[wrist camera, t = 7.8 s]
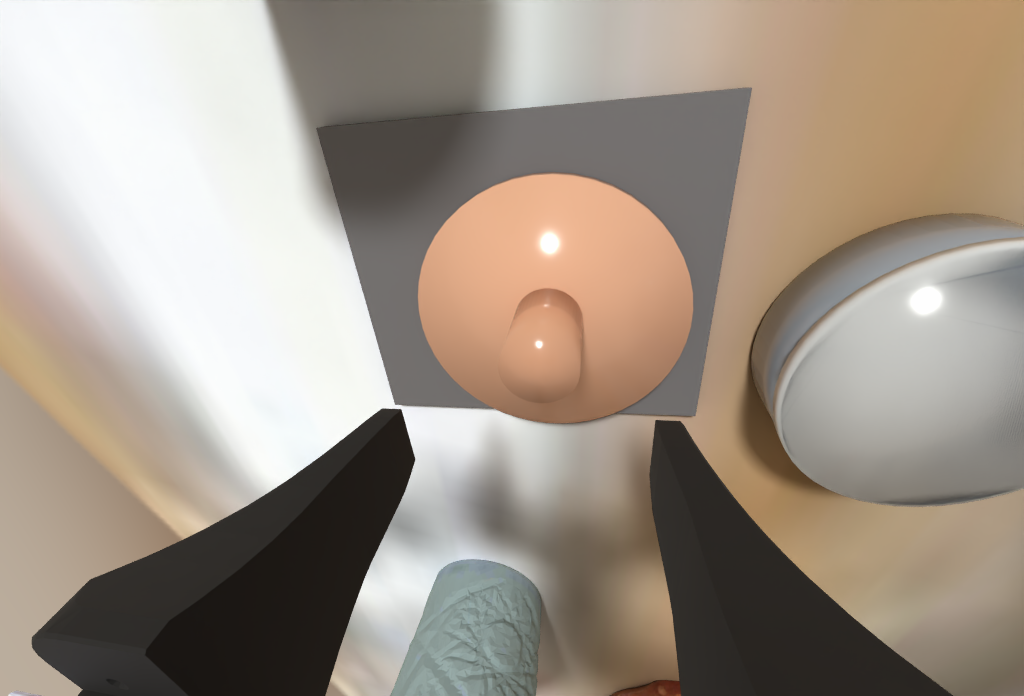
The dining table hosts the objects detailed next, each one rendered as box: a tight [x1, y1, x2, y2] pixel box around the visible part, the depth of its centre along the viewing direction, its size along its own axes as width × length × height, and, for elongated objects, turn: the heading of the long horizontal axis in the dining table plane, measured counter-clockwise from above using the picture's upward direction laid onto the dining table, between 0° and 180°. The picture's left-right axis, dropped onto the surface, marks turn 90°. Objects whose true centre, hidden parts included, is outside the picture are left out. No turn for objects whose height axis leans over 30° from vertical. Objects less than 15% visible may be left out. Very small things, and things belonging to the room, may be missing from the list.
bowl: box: [751, 213, 1024, 507], centre depth 17 cm, size 11×11×4 cm
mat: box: [317, 88, 752, 416], centre depth 19 cm, size 16×14×1 cm
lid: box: [418, 172, 693, 423], centre depth 18 cm, size 12×12×5 cm
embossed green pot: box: [390, 560, 541, 696], centre depth 29 cm, size 10×10×12 cm
